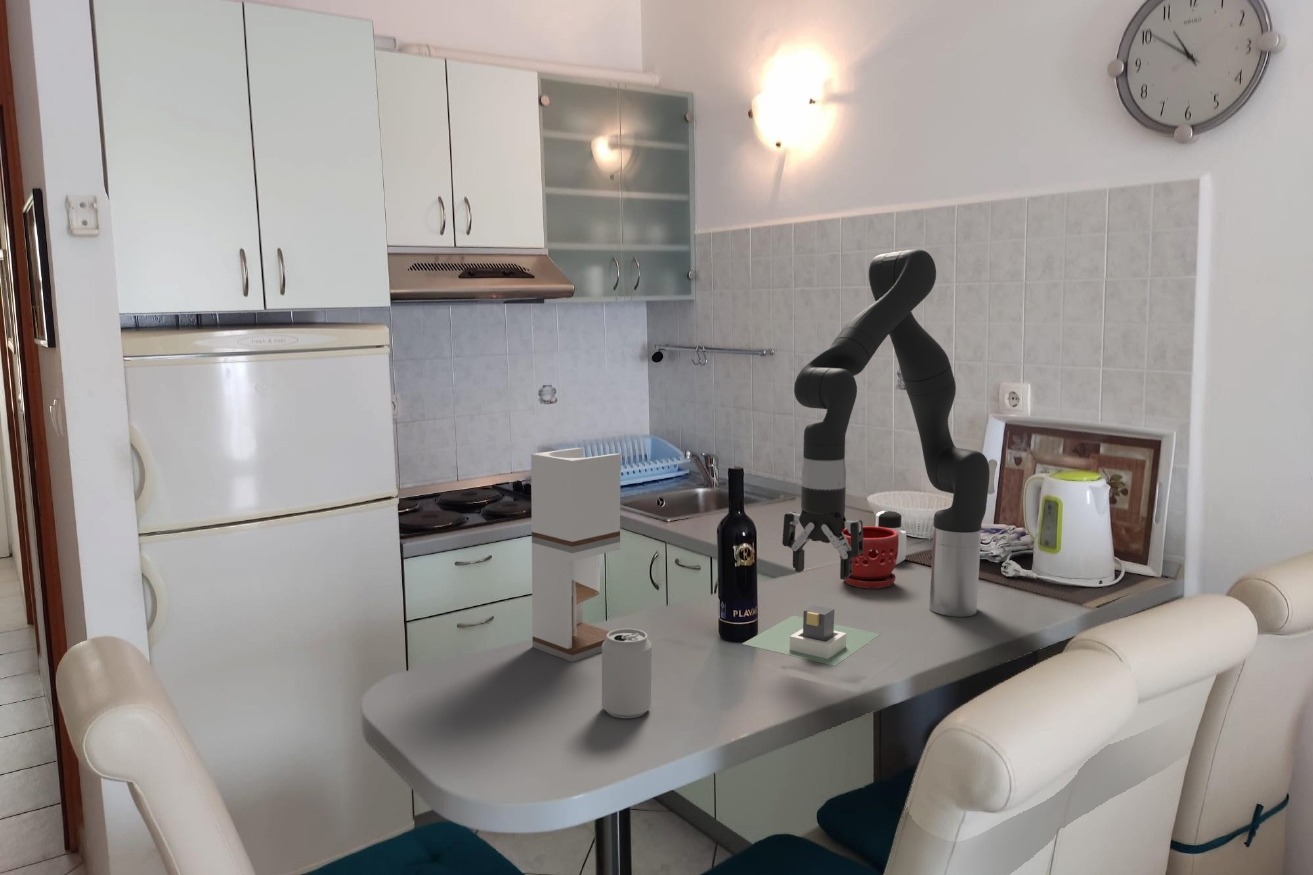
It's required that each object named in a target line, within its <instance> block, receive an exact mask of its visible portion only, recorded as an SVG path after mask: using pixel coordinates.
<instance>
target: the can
mask: <svg viewBox="0 0 1313 875" xmlns="http://www.w3.org/2000/svg"><path fill="white" fill-rule="evenodd" d="M606 637H607V639H606V640H605V641H604V642H603V644H602V652H601V707H602V709H603V710H604V711H606V712H607V714H608V715H610V717H611V716H612V717H614V718H620V719H635V718H639V717H642V716H643V715H644V714H646V712H647V711H648V710H650V709H651V706H652V675H653V674H652V671H653V670H652V666H653V665H652V664H653V662H652V660H653V658H652V656H653V654H652V652H653V644H652V643H651V641H650V640H649V639H648V637H649V636H648V633H646V632H645V631H643V630H640V629H638V628H637V629H636V628H618V629H613V630H611V631H610V632H609V633H607V635H606Z"/></svg>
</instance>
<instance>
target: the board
mask: <svg viewBox="0 0 1313 875" xmlns="http://www.w3.org/2000/svg"><path fill="white" fill-rule="evenodd" d="M880 635H881V633H879V632H878V633H877V632H875V631H874V632H873V631H868V630H865V629H858V628H855V627H849V626H844V625H841V624H836V623H834V635H833V638H831V639H830V640H828V641H827V642H823V641H819V640H814V639H810V638H805V637H803V616H802V617H801V616H797V615H791V616H790V617H787V618H786V619H784V620H782V621H780V622H779V623H777V624H775V625H773V626H771V627H770V628H768V629H766V630H764V631H763V632H760V633H759V634H757V635H755V636H754V637H751V638H749V639H748V640H746V641H744V642H743V643H741V645H743V646H744V645H745V646H748V647H753V648H757V649H761V650H766V651H770V652H773V653H778V654H781V655H787V656H790V657H795V658H798V659H799V658H800V659H803V660H808V661H812V662H817V663H820V664H824V665H828V666H829V665H830V666H832V667H833V666H834V667H836V666H837V665H839V664H840V663H842V662H843V661H844V660H845V659H847V658H849V657H850V656H851V655H853V654H855V653H856V652H857V651H859V650H860V649H862V648H864V647H865V646H866V645H868V643H870V642H871V641H873V640H874V639H876V638H877V637H879V636H880Z"/></svg>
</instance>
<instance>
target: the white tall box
mask: <svg viewBox="0 0 1313 875" xmlns="http://www.w3.org/2000/svg"><path fill="white" fill-rule="evenodd" d="M583 452H584V448H583V447H574V448H566V449H558V450H552V451H544V452H537V453H536V452H535V453H530V456H531V457H530V459H531V461H530V462H531V463H530V464H531V465H530V466H531V468H530V470H531V476H530V477H531V478H530V479H531V480H530V481H531V482H530V483H531V490H530V492H531V598H532V599H531V605H532V606H531V610H532V612H531V614H532V616H531V617H532V618H531V619H532V622H531V623H532V624H531V625H532V628H531V629H532V641H531V642H532V643H531V644H532V648H533V649H534V648H535V649H537V650H540V651H541V652H545V653H547V654H550V655H553V656H554V657H555V656H556V657H558V658H561V659H563V660H566V661H569V662H571V663H574V662H577V661H579V660H583V659H586V658H589V657H590V656H594V655H597V654H600V653H602V644H603V642H604V641H605V640H606V639H607V637H606V635H607V633H609V632H610V631H609V630H606V629H603V628H601V627H597V626H595V625H591V624H588V623H585V622H584V619H583V618H584V616H583V614H584V612H583V611H584V610H583V606H584V605H583V603H584V602H585V601H588V600H590V599H592V598H595V597H596V596H599V595H600V560H601V559H600V558H601V557H600V555H603V554H608V553H611V552H616V551H620V550H621V466H622V465H621V464H622V462H621V458H622V456H621V453H617V452H616V453H609V454H603V455H596V456H588V457H583V456H584V455H583V454H584V453H583Z"/></svg>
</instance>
